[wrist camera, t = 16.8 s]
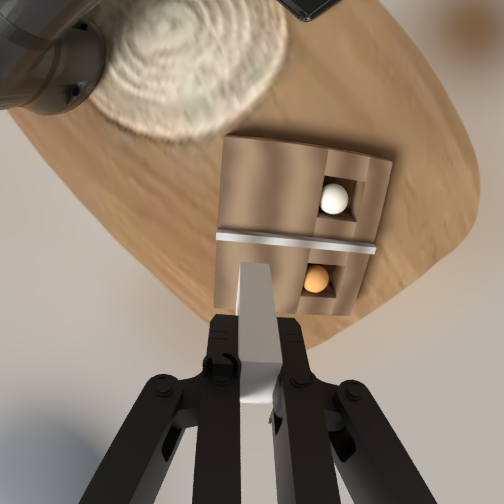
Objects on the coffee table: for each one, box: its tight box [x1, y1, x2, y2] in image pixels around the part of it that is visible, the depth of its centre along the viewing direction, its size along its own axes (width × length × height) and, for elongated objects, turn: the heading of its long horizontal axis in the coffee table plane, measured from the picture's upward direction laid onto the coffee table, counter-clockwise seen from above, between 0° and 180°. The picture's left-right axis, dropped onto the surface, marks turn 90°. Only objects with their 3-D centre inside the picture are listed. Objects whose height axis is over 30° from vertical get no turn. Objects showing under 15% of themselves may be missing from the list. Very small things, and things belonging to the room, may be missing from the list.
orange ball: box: [303, 265, 329, 293], centre depth 43 cm, size 4×4×4 cm
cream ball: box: [319, 183, 348, 214], centre depth 37 cm, size 4×4×4 cm
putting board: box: [214, 135, 393, 316], centre depth 39 cm, size 21×24×5 cm
